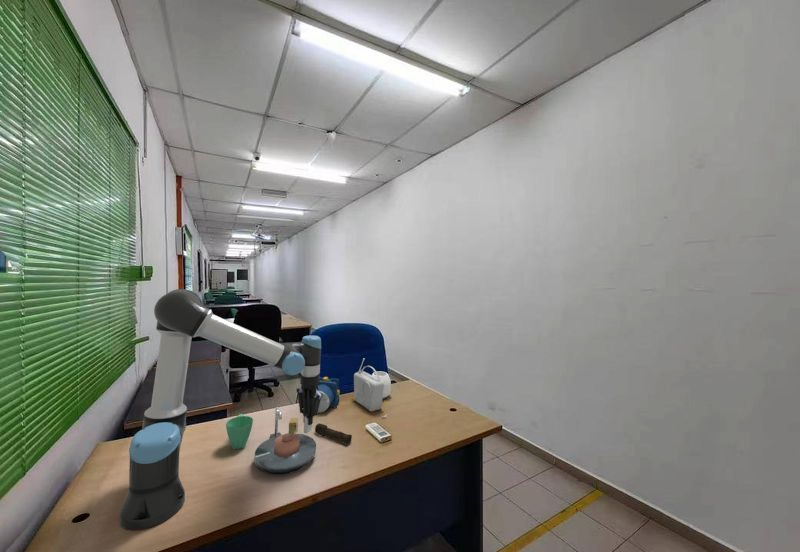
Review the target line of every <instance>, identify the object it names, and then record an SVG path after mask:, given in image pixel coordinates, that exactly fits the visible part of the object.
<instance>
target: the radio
mask: <svg viewBox="0 0 800 552" xmlns="http://www.w3.org/2000/svg"><path fill="white" fill-rule="evenodd" d="M365 359H366V358H364V357H363V359H362V362H361V365H360V367H359V370H358V371H357V372H355V373H354V374H353V388H354V389H353V391H354V400H355V401H356V402H357V403H358V404H359V405H361V406H362V407H364V408H365V409H367V410H368V411H369V412H375V411H378V410H381V409H382V405H383V399H384V398H383V390H384V383H383V381H381V380H380V378H379V376H378V374H377V372H378V371H377V370H376V369H375V368H374V367H373V366H371V365H366V366H363V363H364V361H365ZM362 366H363V368H362ZM365 368H371V369H372V370H373V372H375V373H376V375H377V377H378V379H377V378H375V377H374V376H372V374H370V373H368V372H366V371H364V370H365ZM382 398H383V399H382Z"/></svg>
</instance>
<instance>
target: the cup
mask: <svg viewBox="0 0 800 552" xmlns="http://www.w3.org/2000/svg"><path fill="white" fill-rule="evenodd" d="M376 372H377V374H378V376H379V378H380V380H381V381H383V383H384V390H383V398H382V400H384V399H386V398H388V396H389V395H390V393H391V390H392V383H391V382H392V381H391V377H390V376H389V374H388V373H387V372H385V371H382V370H381V371H376ZM371 375H372V376H374V377H375V378H377V379H378V377H377V375H376V373H375V371H373V373H372V374H371Z"/></svg>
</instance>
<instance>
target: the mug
mask: <svg viewBox="0 0 800 552" xmlns="http://www.w3.org/2000/svg"><path fill="white" fill-rule="evenodd" d="M253 422H254V419H253V417H251V416H248V415H244V414H243V413H240V414H237V416H236V417H233V418H231V419H229V420H227V422H226V424H225V428H226V432H227V437H228V440H229V443H230V445H231V449H233V450H241V449H243V448H245V447H246V445H247V443H248V441H249V437H250V435H251V432H252V428H253Z"/></svg>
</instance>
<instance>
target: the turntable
mask: <svg viewBox="0 0 800 552" xmlns="http://www.w3.org/2000/svg"><path fill="white" fill-rule="evenodd" d="M298 431H299V418H298V417H297V418H295V417H293V418H292V417H291V418H290V420H289V422H288V433H290V434H296V435H298V436H299V437H300V445H299V451H298V452H297V453H296V454H294V455H292V456H289V457H278V456H276V455H275V454H274V442H275V439H276V438H277V437H279V436H281V435H282V434H281V435H279V436H275V437H273V438H270V437H269V438H268V439H266V440H265V441H263V442H262V443H260V444H259V445H258V446H257V448H256V449H255V451H254V464H255V465H256V467H258V468H259V469H261V470H262V471H263V470H265V471H270V472H284V471H290V470H293V469H296V468H299V467H301V466H303V465H305V464H307V465H308V464H309V462H310V461H312V460H313V458H314V457H315V455H316V453H317V443H316V440H314V438H312V437H311V436H309V435H307V434H303V433H298ZM305 466H306V465H305Z"/></svg>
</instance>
